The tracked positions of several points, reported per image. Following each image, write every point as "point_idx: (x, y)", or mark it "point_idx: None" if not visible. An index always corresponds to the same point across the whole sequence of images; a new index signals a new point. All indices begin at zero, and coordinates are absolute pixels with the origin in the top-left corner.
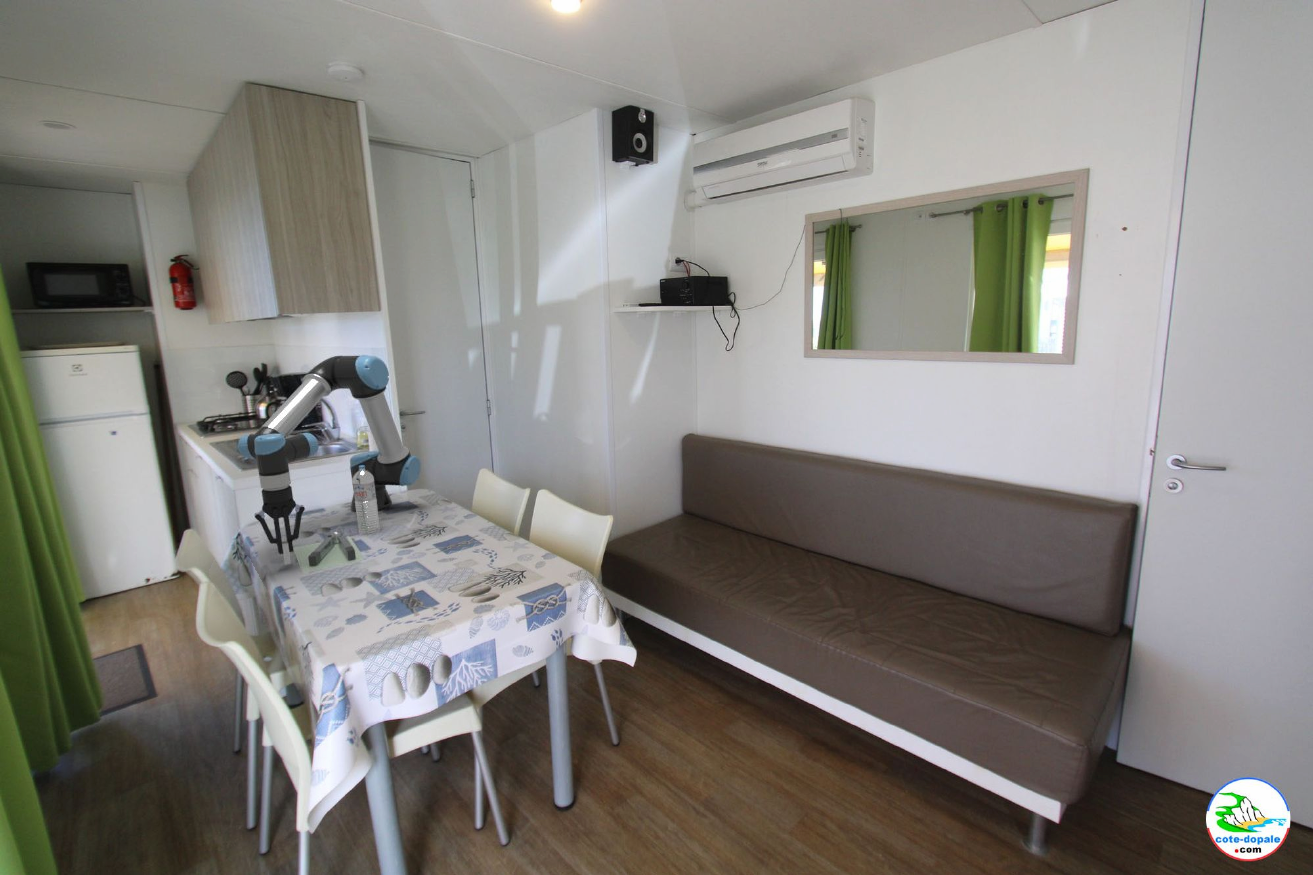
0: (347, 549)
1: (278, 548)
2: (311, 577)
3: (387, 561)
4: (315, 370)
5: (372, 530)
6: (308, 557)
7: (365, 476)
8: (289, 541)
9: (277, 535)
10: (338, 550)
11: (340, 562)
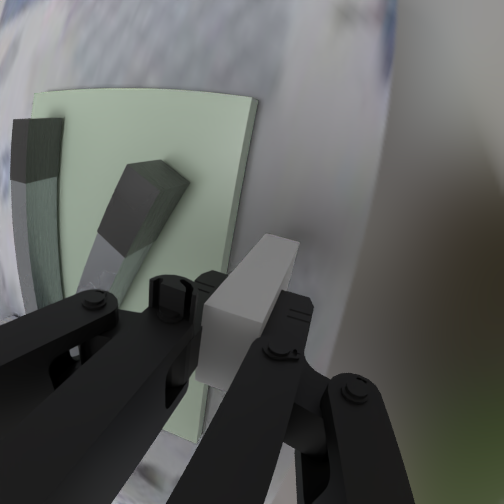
0: (24, 145)
1: (304, 329)
2: (229, 69)
3: (18, 65)
4: None
5: (2, 323)
6: (161, 188)
7: None
8: (180, 287)
9: (265, 431)
10: (71, 280)
11: (86, 122)
